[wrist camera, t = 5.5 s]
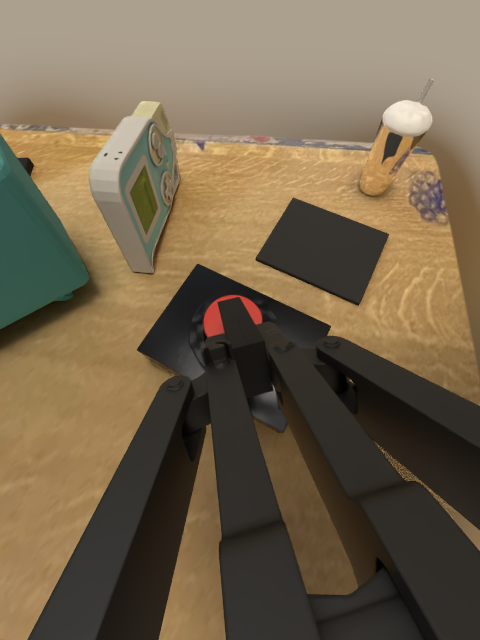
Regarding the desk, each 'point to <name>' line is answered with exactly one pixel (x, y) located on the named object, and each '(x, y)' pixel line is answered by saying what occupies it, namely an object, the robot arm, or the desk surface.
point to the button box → (189, 336)
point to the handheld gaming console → (137, 182)
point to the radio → (31, 246)
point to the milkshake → (395, 142)
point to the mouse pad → (324, 250)
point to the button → (213, 316)
